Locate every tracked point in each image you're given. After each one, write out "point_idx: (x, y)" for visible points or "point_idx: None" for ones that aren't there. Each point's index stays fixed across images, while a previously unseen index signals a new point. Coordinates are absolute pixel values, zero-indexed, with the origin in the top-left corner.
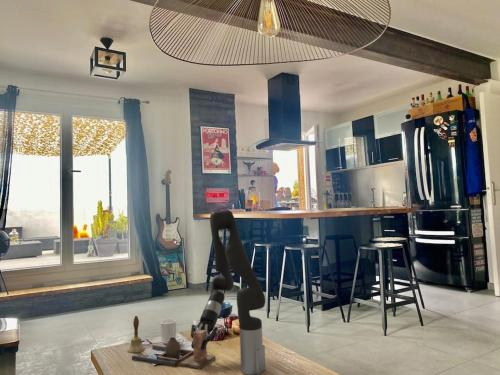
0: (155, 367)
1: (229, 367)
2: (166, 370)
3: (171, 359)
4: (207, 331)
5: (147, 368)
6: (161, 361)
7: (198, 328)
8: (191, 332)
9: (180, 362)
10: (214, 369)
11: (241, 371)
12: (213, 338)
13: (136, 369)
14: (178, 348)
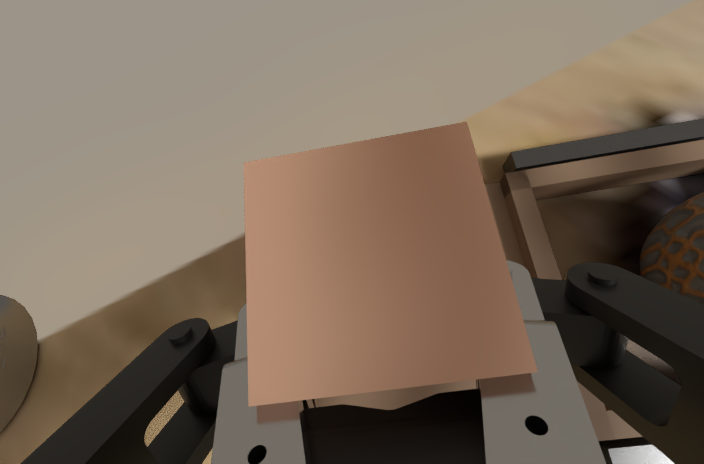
0: (614, 92)
1: (134, 344)
2: (499, 101)
3: (582, 160)
4: (226, 437)
5: (646, 58)
6: (646, 130)
7: (586, 431)
8: (698, 311)
9: (490, 190)
10: (217, 264)
11: (27, 313)
12: (167, 425)
13: (694, 16)
14: (696, 265)
